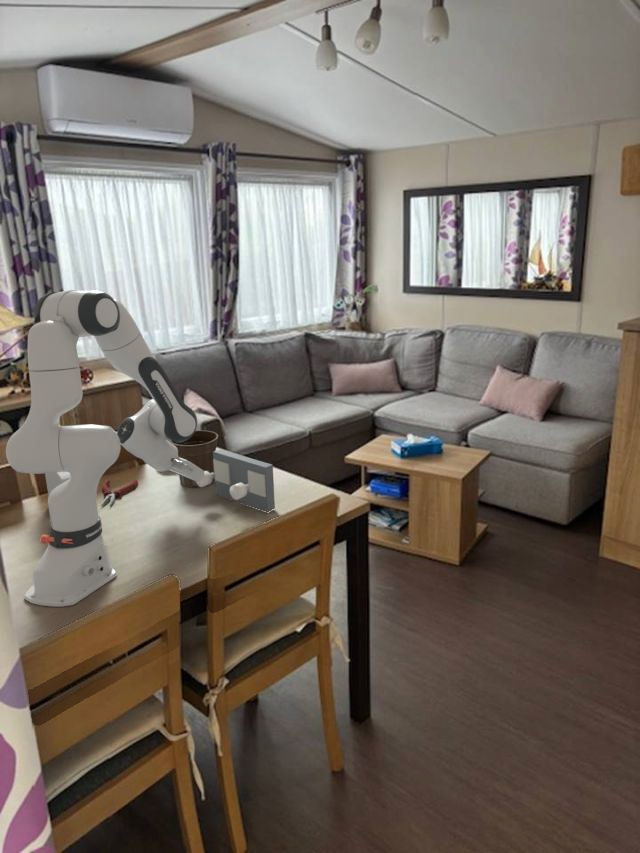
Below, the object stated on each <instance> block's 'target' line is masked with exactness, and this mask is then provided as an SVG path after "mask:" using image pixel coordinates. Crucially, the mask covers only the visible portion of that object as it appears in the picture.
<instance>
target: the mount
mask: <svg viewBox="0 0 640 853" xmlns="http://www.w3.org/2000/svg"><path fill="white" fill-rule="evenodd" d="M213 456H214V460H213V463H214V474H215V481H214V483H215V494H216V495H217V496H218V497H219V496H220V497H222V498H225V499H227V500H230V499H231V500H230V501H232V500H233V502H235V501H236V502H235V503H238V502H239V503H238V504H241V503H242V504H241V505H243V504H245V505H244V506H246V505H248V506H247V507H249V506H251V507H250V508H252V507H254V508H257V509H260V510H263V511H266V512H269V511H271V510H272V509H274V508H275V505H276V503H275V485H274V484H275V483H274V480H275V479H274V465H273V464H272V463H268V462H265V461H261V460H258V459H254V458H251V457H248V456H244V455H241V454H237V453H235V452H230V451H227V450H224V449H221V448H220V449H216V451H214V452H213ZM240 482H241V483H243V484H244V485H246V484H249V485H250V490H249V491H247V495H246V496H245V497H242V498H240V499H238V500H235V499H233V498H232V496H231V494H230V487H231V486H233V485H235V484H237V483H240ZM254 508H253V509H254ZM257 509H256V510H257ZM275 509H276V508H275ZM260 510H259V511H260Z"/></svg>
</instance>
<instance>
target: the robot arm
mask: <svg viewBox="0 0 640 853" xmlns="http://www.w3.org/2000/svg"><path fill="white" fill-rule="evenodd" d="M33 316H34V317H33V318H34V320H33V322H34V325H32V326H31V327H30V328H29V331H28V337H27V365H28V374H29V385H30V399H31V400H30V408H29V412H28V415H27V417H26V419H25V421H24V422H23V424H22V425H21V426H20V427H19V428H18V430H16V431H15V432H13V433H12V435H11V436H10V437H9V439H8V441H7V443H6V446H5V457H6V459H7V462H8V464H9V465H10V467H11V468H12V469H13V470H14V471H15V472H17V473H22V474H23V473H24V474H35V475H37V474H38V475H40V474H41V475H42V474H45V473H54V472H69V473H70V479H69V480H67V481H66V482H64V483H62V484H60V485H59V486H57V487H56V488H55V489H53V490H52V492H51V493H50V495H48V498H47V506H48V512H49V520H50V526H49V532H48V533H49V534H41V536H40V540H39V541H40V543H42V544H47V545H48V546H47V548H46V550H44V553H43V554H42V557H41V558H40V560H39V562H38V564H37V565H36V567H35V569H34V571H33V576H32V577H33V584H32V585H31V587H29V589H28V590H27V591H26V592H25V593H24V594H23V596H24V599H25V601H26V602H28V601H29V602H28V603H31V604H33V605H38V606H45V607H69V606H73V605H75V604H77V603H79V602H80V601H81V600H83V599H85V598H86V597H88V596H90V595H91V594H92V593H94V592H95V591H96V590H98V589H100V588H101V587H103V586H104V585H105V584H107V583H108V582H110V581H112V580H113V579H114V578H116V577H117V571H116V570H115V569H114V567H113V564H112V561H111V557H110V553H109V548H108V545H107V544H106V541H105V539H104V537H103V534H102V533H103V523H102V521H101V520H102V519H101V517H100V516H99V511H98V510H99V509H98V501H97V500H98V496H97V493H98V492H97V491H98V486H99V483H100V480H101V478H102V477H103V475H104V473H106V471H107V470H108V469H109V468H110V467H112V466H113V465H114V464H115V463H116V461H117V460H118V458H119V456H120V453H121V446H122V447H123V448H124V449H125V450H126V451H127V452H129V453H130V454H131V455H132V456H135V457H136V458H138V459H141V460H143V462H144V463H145V464H146V465H148V466H149V467H151V468H153V469H154V470H155V471H157V472H160V473H161V472H166V470H170V471H171V472H173V473H176V474H178V475H179V474H180V475H182V476H185V477H187V478H189V479H192V480H194V481H197V482H199V481H200V480H201V479H202V477H203V475H204V471H203V470H202V469H200V468H199V467H197V466H196V465H194V464H193V463H191V462H189V461H187V460H185V459H182V458H180V457H178V449H177V447H176V446H174V445H173V444H172V443H170V440H172V441H174V442H176V443H182V442H184V441H186V440H188V439H189V438H191V437H192V435H193V434H194V432H195V430H197V427H198V417H197V415H196V412H195V411H194V409H192V408H191V407H190V406H188V405H187V404H185V402H184V401H183V400H182V398H181V397H180V394H179V393H178V391H177V389H176V388H175V386H174V384H173V383H172V381H171V380H170V378H169V377H168V375H167V373H166V372H165V370H164V369H163V367H162V366H161V364H160V363H159V362H158V360H157V358H156V357H155V355H154V354H153V353H152V351H151V349H150V348H149V346H148V343H147V341H146V339H145V338H144V337H143V334H142V332H141V331H140V329H139V326H138V325H137V323H136V321H135V320H134V318H133V317H132V315H131V313H130V312H129V310H128V309H127V308H126V307H125V306H124V304H123V303H122V302H121V301H120V300H118V299H115V298H113V296H111V295H110V294H108V293H106V292H103V291H100V290H75V289H69V290H64V291H59V292H57V291H53V292H50V293H46V294H44V295H43V296H41V297H39V299H38V300H37V302H36V304H35V307H34V314H33ZM85 337H86V338H87V337H88V338H89V337H94V339H95V341H96V342H97V344H98V347H99V348H100V350H101V353H102V354H103V356H104V357H105V359H106V360H107V361H108V362H109V364H110V365H111V366H112V367H113V368H114V369H115V370H116V371H118V372H119V373H122V374H123V375H125V376H127V377H129V378H131V379H132V380H134V381H136V382H137V383H139V385H141V386H143V388H145V390H146V391H147V392H148V393H149V395H150V397H151V398H150V399H149V400H148V401H146V402H145V403H144V404H143V405H142V407H141V409H140V410H139V411H138V412H136V413H135V414H134V415H132V416H130V417H129V416H128V417H126V418H125V419H123V420H122V421H121V422H120V424H119V426H118V428H117V430H116V431H117V432H116V431H115V429H113V428H112V426H109V425H104V424H103V425H101V424H91V423H90V424H89V423H88V424H87V423H86V424H76V425H75V424H73V425H60V418H61V416H63V415H64V414H67V413H68V412H69V411H71V410H73V409H75V408H76V407H78V405H79V404H81V402H82V400H83V399H82V398H83V394H84V393H83V386H82V377H81V376H82V374H81V368H80V359H79V356H78V351H77V345H78V341H79V338H85Z"/></svg>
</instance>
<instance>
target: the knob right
mask: <svg viewBox="0 0 640 853" xmlns="http://www.w3.org/2000/svg"><path fill="white" fill-rule="evenodd" d="M249 490H250V485H249V484H246V485H244V484H243V483H241V482H240V483H237V484H235V485H233V486H231V487H230V494H231V496H232V498H233V499H235V500H238V499H240V498H242V497H245V496H246V495H247V491H249Z"/></svg>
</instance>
